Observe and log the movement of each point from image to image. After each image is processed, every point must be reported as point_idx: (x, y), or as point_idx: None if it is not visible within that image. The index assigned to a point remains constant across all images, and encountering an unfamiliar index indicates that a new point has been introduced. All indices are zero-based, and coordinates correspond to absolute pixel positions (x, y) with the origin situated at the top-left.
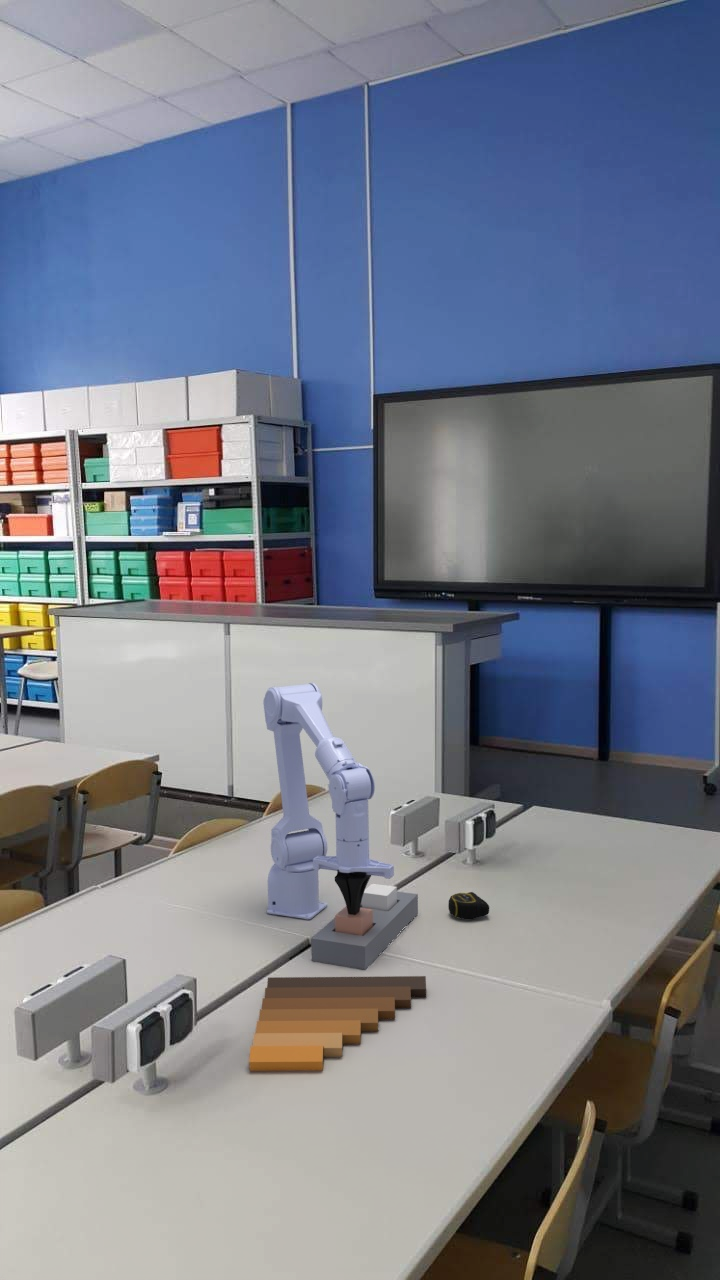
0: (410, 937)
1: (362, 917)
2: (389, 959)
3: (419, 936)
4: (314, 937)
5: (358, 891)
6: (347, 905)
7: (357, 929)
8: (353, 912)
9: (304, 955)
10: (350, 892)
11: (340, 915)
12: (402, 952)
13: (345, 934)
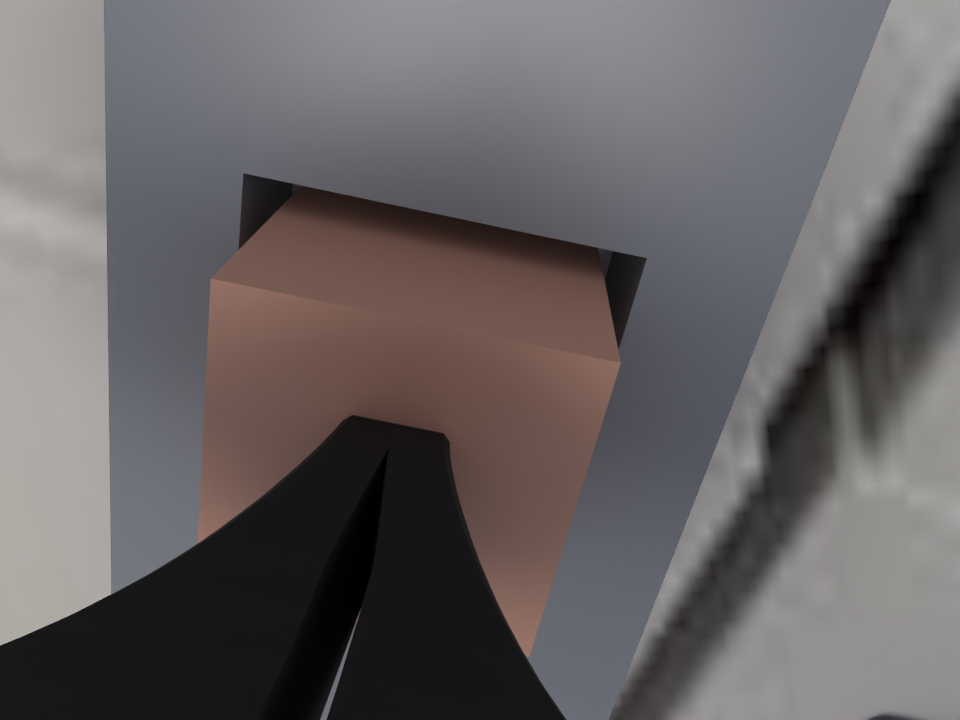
0: (92, 538)
1: (222, 347)
2: (89, 138)
3: (39, 558)
4: (846, 30)
5: (79, 615)
6: (432, 485)
7: (314, 239)
8: (360, 428)
9: (884, 104)
10: (298, 616)
11: (543, 377)
12: (42, 290)
13: (461, 184)
